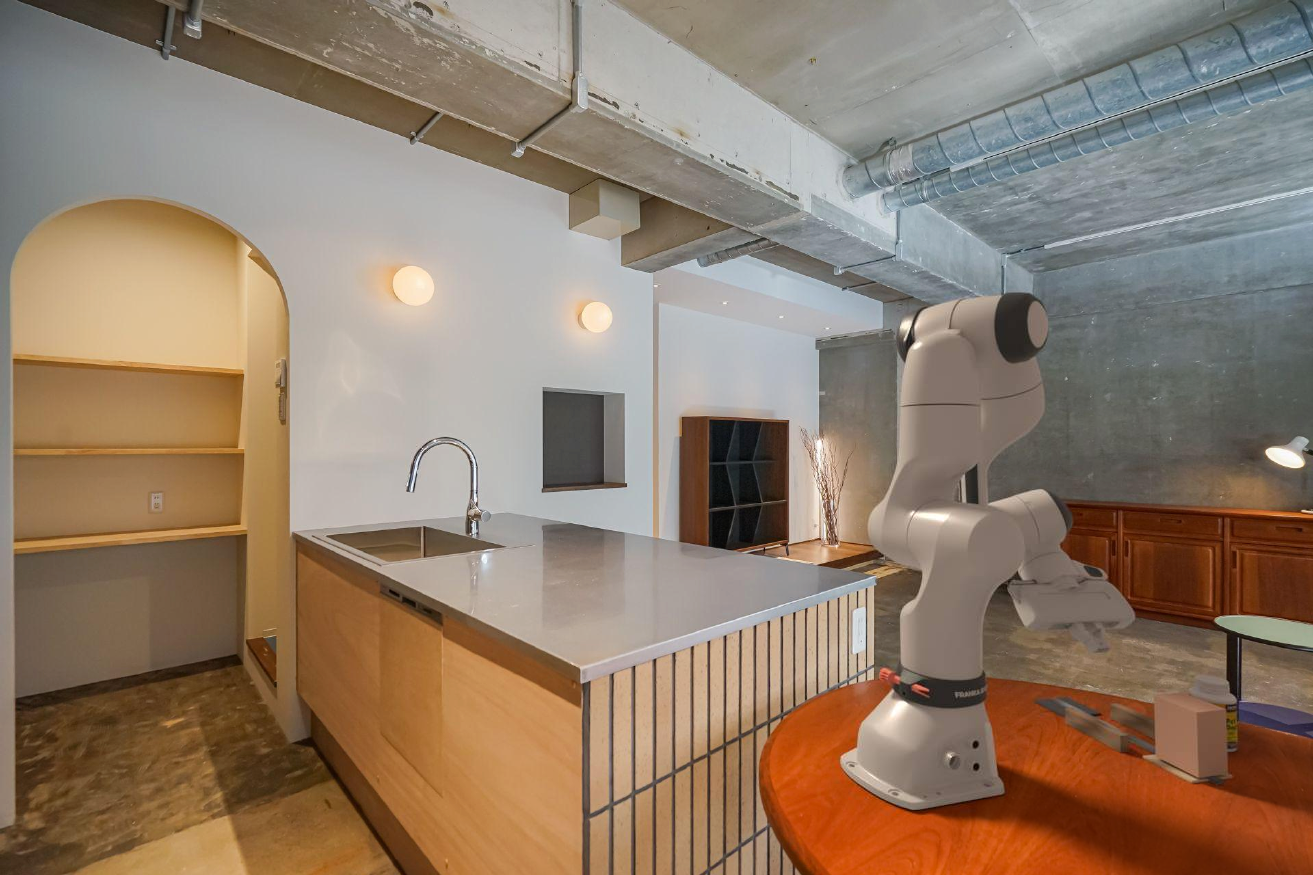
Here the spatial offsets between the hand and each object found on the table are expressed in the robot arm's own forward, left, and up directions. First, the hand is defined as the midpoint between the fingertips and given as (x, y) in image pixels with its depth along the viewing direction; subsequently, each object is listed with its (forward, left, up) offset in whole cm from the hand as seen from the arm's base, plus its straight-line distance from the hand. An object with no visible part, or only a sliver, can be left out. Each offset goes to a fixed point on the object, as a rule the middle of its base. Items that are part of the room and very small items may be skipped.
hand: (1101, 651), depth 101 cm
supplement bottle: (+9, -11, -13) cm, 19 cm away
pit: (+2, +7, -13) cm, 15 cm away
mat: (-3, -13, -13) cm, 18 cm away
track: (0, -2, -13) cm, 13 cm away
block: (-3, -13, -13) cm, 19 cm away
